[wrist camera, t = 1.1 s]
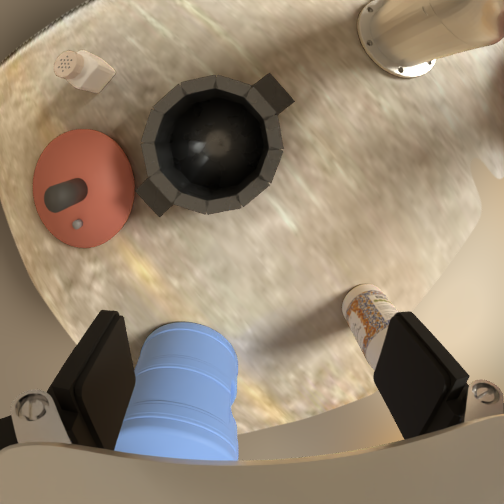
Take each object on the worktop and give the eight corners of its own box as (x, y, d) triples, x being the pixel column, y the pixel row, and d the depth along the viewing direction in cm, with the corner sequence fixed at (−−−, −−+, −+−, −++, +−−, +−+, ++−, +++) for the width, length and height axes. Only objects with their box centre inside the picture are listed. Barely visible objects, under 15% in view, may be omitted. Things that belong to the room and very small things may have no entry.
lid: (41, 133, 35) (6, 136, 27) (140, 126, 36) (115, 124, 28) (46, 239, 40) (15, 259, 32) (139, 245, 41) (118, 269, 33)
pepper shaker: (118, 72, 33) (87, 58, 24) (99, 95, 34) (63, 87, 25) (101, 57, 32) (67, 40, 23) (82, 79, 33) (45, 69, 24)
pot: (238, 56, 33) (237, 37, 26) (310, 138, 37) (327, 138, 30) (127, 154, 37) (102, 159, 29) (198, 232, 41) (189, 253, 33)
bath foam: (341, 285, 44) (397, 376, 26) (384, 279, 44) (453, 360, 26) (339, 324, 47) (384, 420, 28) (379, 318, 47) (436, 404, 28)
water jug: (125, 352, 48) (68, 493, 21) (187, 300, 44) (143, 472, 18) (192, 403, 52) (175, 540, 26) (258, 362, 49) (271, 522, 23)
